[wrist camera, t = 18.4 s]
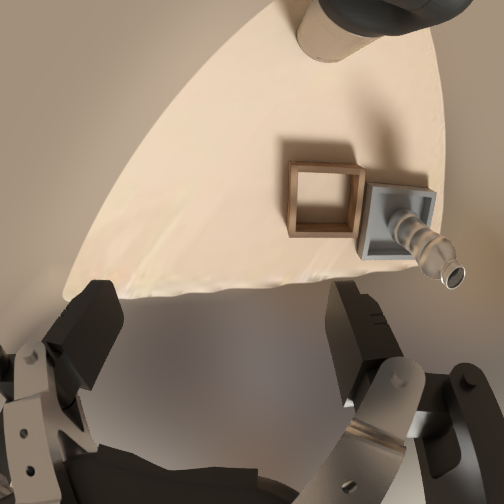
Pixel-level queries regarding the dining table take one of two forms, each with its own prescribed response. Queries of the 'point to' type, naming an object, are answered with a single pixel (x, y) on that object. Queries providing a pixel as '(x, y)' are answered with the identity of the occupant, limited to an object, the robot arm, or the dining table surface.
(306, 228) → the walnut collar
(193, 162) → the dining table surface
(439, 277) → the plastic bottle
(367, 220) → the grey tray
